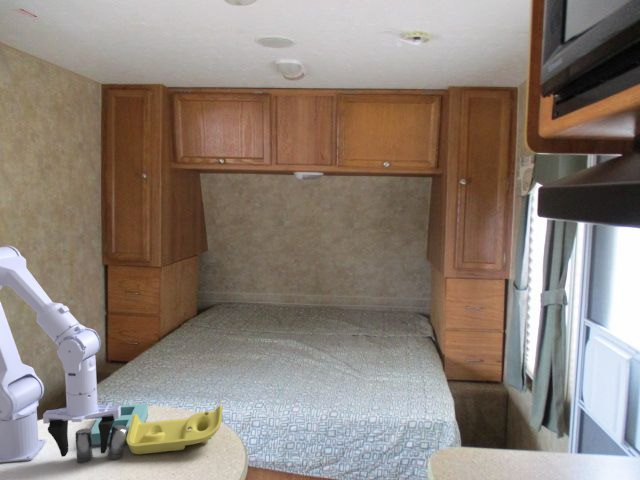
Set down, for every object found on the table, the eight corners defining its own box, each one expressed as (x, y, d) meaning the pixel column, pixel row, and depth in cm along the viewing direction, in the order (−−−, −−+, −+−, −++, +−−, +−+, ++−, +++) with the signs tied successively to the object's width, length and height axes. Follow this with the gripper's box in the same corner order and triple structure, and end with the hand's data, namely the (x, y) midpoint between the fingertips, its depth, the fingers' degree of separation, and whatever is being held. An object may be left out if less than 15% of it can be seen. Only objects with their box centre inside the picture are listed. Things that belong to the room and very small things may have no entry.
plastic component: (124, 447, 103) (134, 408, 112) (132, 468, 107) (141, 429, 116) (220, 437, 105) (223, 399, 113) (225, 458, 108) (227, 420, 117)
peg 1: (74, 463, 102) (73, 435, 102) (79, 456, 105) (78, 429, 104) (90, 462, 103) (89, 434, 102) (94, 454, 106) (93, 427, 105)
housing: (89, 447, 109) (88, 434, 108) (105, 418, 122) (105, 406, 122) (137, 443, 110) (136, 430, 110) (147, 415, 124) (147, 403, 124)
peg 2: (105, 458, 103) (110, 431, 103) (109, 451, 106) (113, 424, 106) (120, 460, 104) (125, 432, 103) (124, 452, 107) (128, 425, 106)
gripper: (35, 400, 97) (39, 466, 99) (114, 395, 100) (116, 459, 101) (49, 386, 104) (52, 447, 105) (122, 381, 106) (124, 442, 108)
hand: (84, 452), depth 104 cm, fingers open, 7 cm apart
